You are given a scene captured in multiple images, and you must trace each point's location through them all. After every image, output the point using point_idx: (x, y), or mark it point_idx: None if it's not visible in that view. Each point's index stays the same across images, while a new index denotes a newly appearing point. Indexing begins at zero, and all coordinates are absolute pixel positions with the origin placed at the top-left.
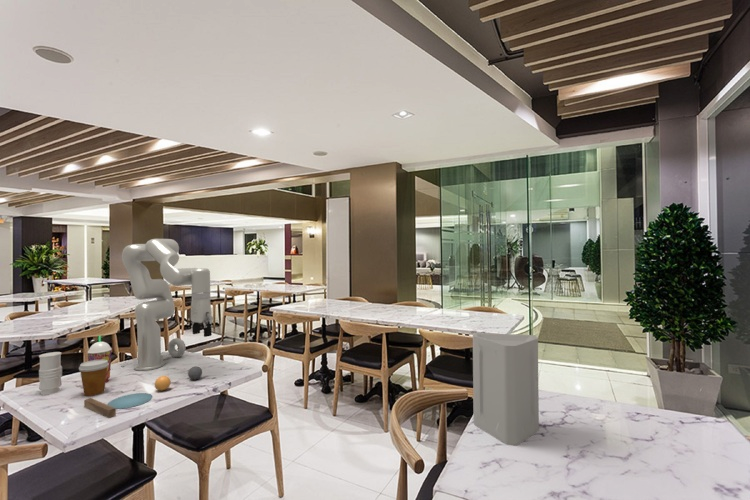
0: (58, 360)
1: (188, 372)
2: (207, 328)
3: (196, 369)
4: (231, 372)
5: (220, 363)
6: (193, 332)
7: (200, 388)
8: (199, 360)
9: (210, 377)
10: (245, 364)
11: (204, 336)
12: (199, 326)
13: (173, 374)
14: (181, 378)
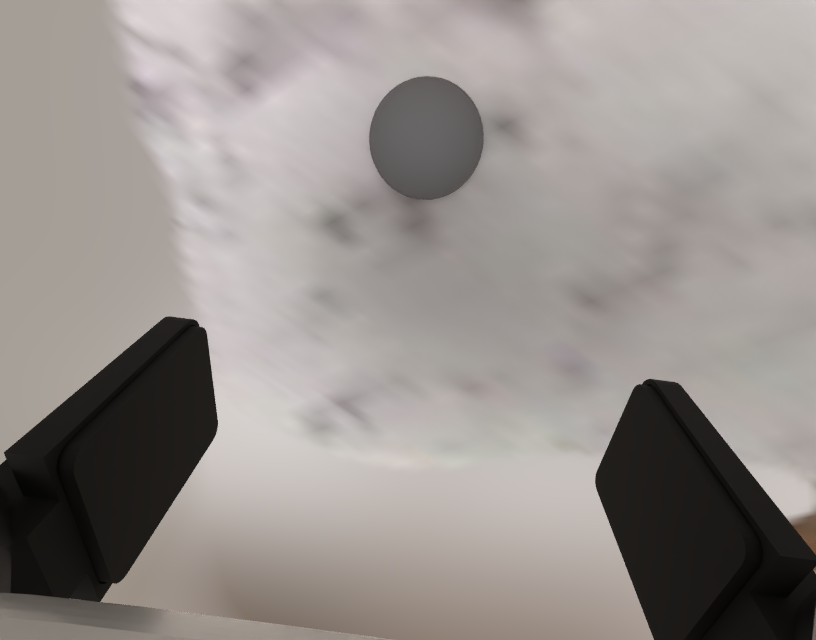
0: None
1: (443, 82)
2: (7, 478)
3: (381, 131)
4: (337, 344)
5: (557, 424)
6: (659, 402)
7: (202, 20)
8: (763, 414)
9: (367, 220)
10: (395, 462)
11: (170, 317)
12: (648, 606)
13: (713, 118)
14: (554, 89)
